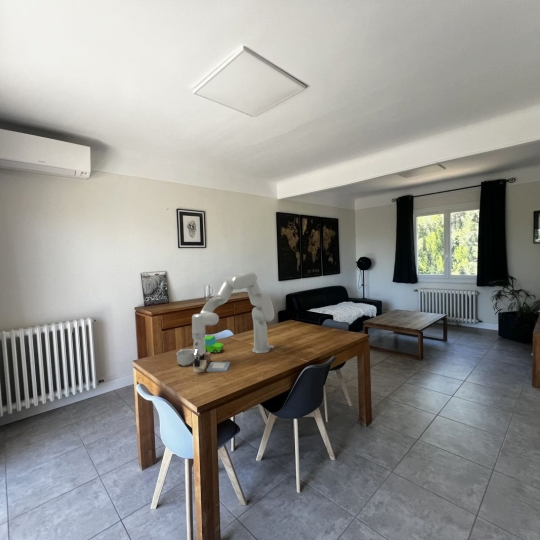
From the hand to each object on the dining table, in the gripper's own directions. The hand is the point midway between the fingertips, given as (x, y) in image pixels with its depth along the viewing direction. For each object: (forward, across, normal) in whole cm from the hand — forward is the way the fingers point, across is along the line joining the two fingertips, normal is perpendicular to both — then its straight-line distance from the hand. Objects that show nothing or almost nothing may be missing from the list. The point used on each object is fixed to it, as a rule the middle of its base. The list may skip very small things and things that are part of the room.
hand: (199, 363), depth 167 cm
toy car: (+4, +33, -1) cm, 34 cm away
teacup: (+4, +11, +12) cm, 17 cm away
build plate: (+4, +3, -11) cm, 12 cm away
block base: (+4, 0, 0) cm, 4 cm away
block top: (+4, +12, -1) cm, 13 cm away
